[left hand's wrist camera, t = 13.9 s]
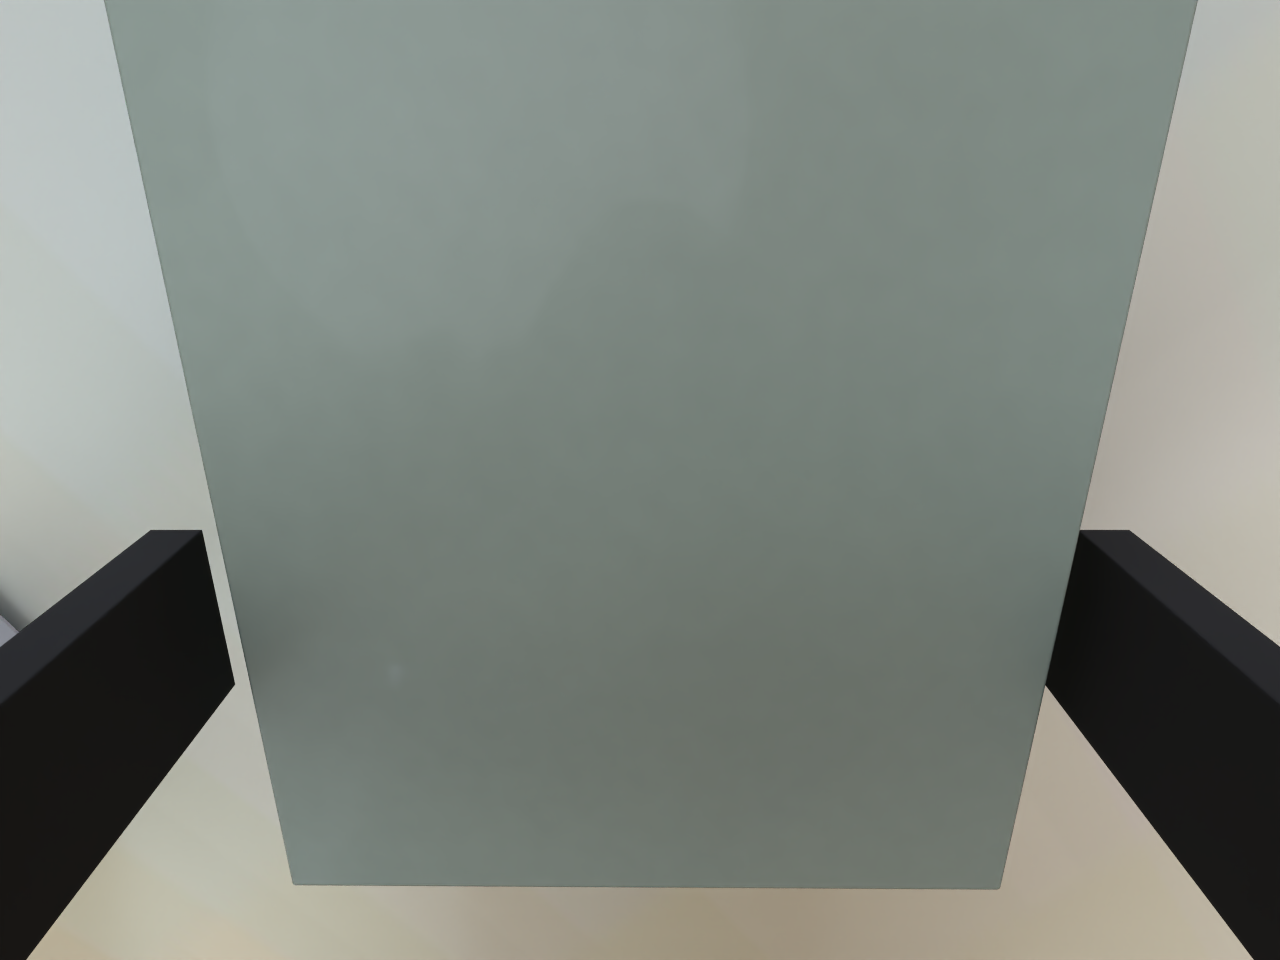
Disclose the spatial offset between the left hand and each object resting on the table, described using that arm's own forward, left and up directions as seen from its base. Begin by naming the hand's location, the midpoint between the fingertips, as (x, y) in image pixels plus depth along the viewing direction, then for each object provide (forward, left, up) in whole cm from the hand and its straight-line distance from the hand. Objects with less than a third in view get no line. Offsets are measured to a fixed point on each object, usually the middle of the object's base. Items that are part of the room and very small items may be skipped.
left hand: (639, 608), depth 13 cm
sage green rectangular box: (+5, -3, -6) cm, 9 cm away
